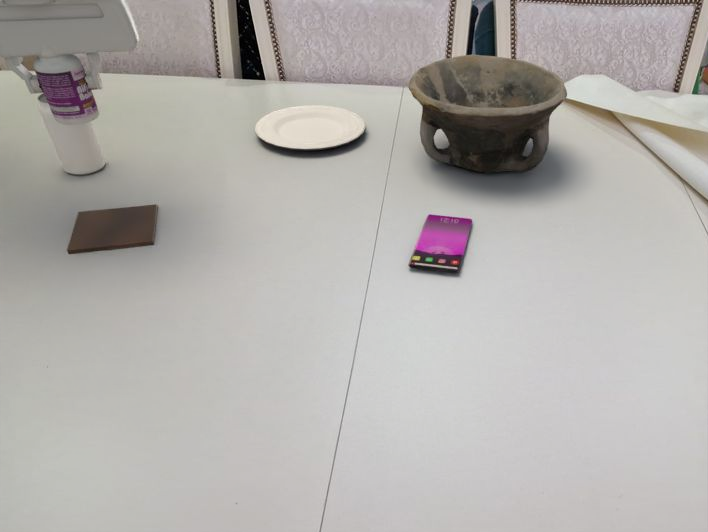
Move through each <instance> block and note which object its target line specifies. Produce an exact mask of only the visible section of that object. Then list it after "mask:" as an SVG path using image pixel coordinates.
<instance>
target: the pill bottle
mask: <svg viewBox="0 0 708 532" xmlns="http://www.w3.org/2000/svg"><path fill="white" fill-rule="evenodd" d="M41 54H42V55H40V56H36V58H35V59H34V60H33V63H32V67H33V69H34V70H33V71H34V72H35V75H37V77H38V79H39V82H40V84H41V87H42V89H43V92H44V94H45V97H46V99H47V102H48V104H49V107H50V109H51V111H52V114H53V116H54V119H55V120H56V121H57V122H59V123H61V124H65V125H78V124H85V123H88V122H91V123H92V122H93V121H95V120H96V119H98V117H99V115H100V110H99V107H98V105H97V102H96V98H95V96H94V94H93V90H89V89H88V86H87V85H88V83H86V81H85V78H84V76H85V73H86V70H85V68H84V65H83V63H82V61H81V59H80V58H79V57H78V56H77V55H76V54H58V53H57V52H56V51H55V50H54V49H53V48H52V47H51V45H50V44H43V45H42V52H41Z"/></svg>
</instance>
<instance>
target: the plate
mask: <svg viewBox="0 0 708 532" xmlns="http://www.w3.org/2000/svg"><path fill="white" fill-rule="evenodd" d="M365 130H366V122H365V120H364V119H363V118H362V117H361V116H360V115H358V114H357V113H356V112H353V111H351V110H348V109H345V108H342V107H336V106H330V105H319V104H318V105H317V104H316V105H314V104H311V105H310V104H309V105H298V106H291V107H285V108H281V109H278V110H275V111H272V112H269V113H268V114H266V115H264V116H263V117H261V118H259V120H258V121H257V122H256V124H255V125H254V133H255V134H256V137H258V139H260V140H261V141H263V142H265V143H266V144H268V145H272V146H274V147H277V148H280V149H287V150H293V151H311V152H312V151H322V150H323V151H324V150H329V149H334V148H337V147H341V146H344V145H348V144H351V143H353V142H354V141H356V140H357V139H359V138H360V137H361V136H362V135H363V134H364V133H365Z"/></svg>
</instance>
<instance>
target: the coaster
mask: <svg viewBox="0 0 708 532" xmlns="http://www.w3.org/2000/svg"><path fill="white" fill-rule="evenodd" d="M157 217H158V204H156V203H155V204H146V205H145V204H144V205H136V206H135V205H134V206H125V207H124V206H123V207H115V208H113V207H112V208H104V209H93V210H84V211H78V212H77V215H76V219H75V222H74V226H73V228H72V232H71V236H70V239H69V243H68V246H67V249H66V252H67V254H69V255H70V254H71V255H72V254H79V253H87V252H97V251H105V250H106V251H107V250H115V249H125V248H132V247H133V248H134V247H143V246H151V245H152V246H153V245H154V242H155V236H156V235H155V234H156V225H157Z"/></svg>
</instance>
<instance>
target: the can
mask: <svg viewBox="0 0 708 532" xmlns="http://www.w3.org/2000/svg"><path fill="white" fill-rule="evenodd" d="M37 100H38V111H39V114H40V116H41V119H42V121H43V123H44V126H45V129H46V130H47V131H46V132H47V133H48V135H49V138H50V140H51V143H52V145H53V148H54V150H55V153H56V154H57V157H58V159H59V162H60V164H61V166H62V169H63V171H64V172H66V173H67V174H69V175H73V176H87V175H91V174H96V173H98V172H100V171H102V170H103V169H104V168H105V165H106V160H105V159H106V158H105V156H104V154H103V151H102V148H101V145H100V142H99V139H98V137H97V135H96V132H95V129H94V126H93V124H92V121H91V122H88V123H85V124H78V125H65V124H61V123H59V122H57V121H56V120H55V119H54V116H53V114H52V111H51V109H50V107H49V104H48V102H47V99H46V97H45V94H44V93H40V94H39V95H38V96H37Z"/></svg>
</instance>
